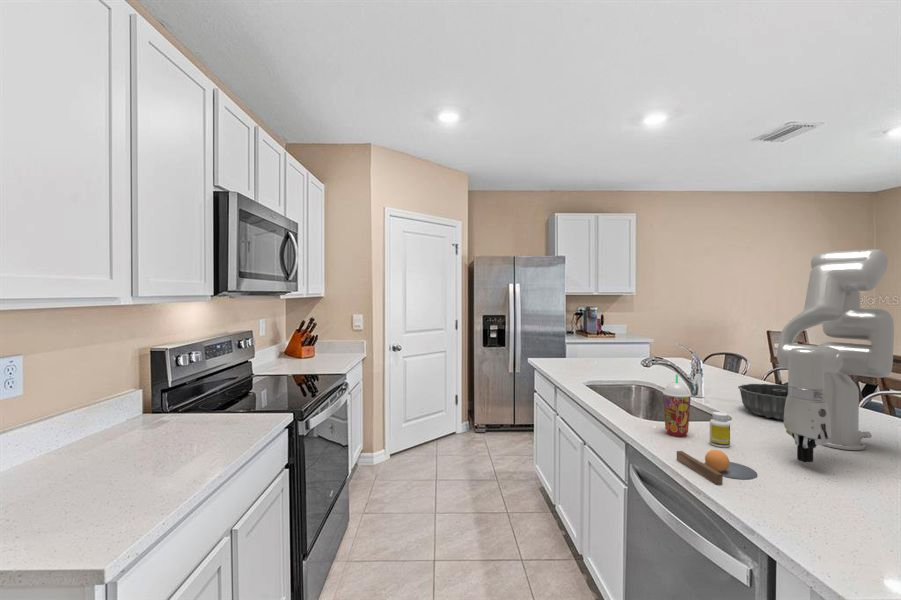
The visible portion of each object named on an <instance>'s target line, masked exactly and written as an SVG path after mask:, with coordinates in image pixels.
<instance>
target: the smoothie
mask: <svg viewBox="0 0 901 600" xmlns="http://www.w3.org/2000/svg"><path fill="white" fill-rule="evenodd" d="M691 396H692V394H691V393H690V391H689V388H687V387H686V386H685V385H684V384H682V383H681V382H679V374H675V382H672V383H669V384H668V385H667V386H666V387H665V389H664V390H663V391H662V398H663V399H662V400H663V413H664V414H663V415H664V425H665V426H664V429H665V431H666V433H667V434H668V435H670V436H673V437H677V436H678V437H682V438H683V437H686V436H687V433H688V432H689V425H690V424H689V423H690V412H691V411H690V410H691V398H692V397H691ZM678 437H677V438H678Z"/></svg>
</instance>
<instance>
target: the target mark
mask: <svg viewBox="0 0 901 600" xmlns="http://www.w3.org/2000/svg"><path fill="white" fill-rule="evenodd" d="M704 464H705V465H707V464H706V462H704ZM719 473H721V474H723V476H724V478H727V479H728V478H729V479H733V480H746V481H747V480H753V478H754V479H756V478H757V477H758V473H757V472H756V471H755V469H753V468H752V467H751V468H750V467H749V466H747V465H744V464H741V463H737V462H733V461H729V467H728V468H727V469H726V470H725V471H722V472H719Z"/></svg>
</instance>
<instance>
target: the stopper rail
mask: <svg viewBox="0 0 901 600" xmlns="http://www.w3.org/2000/svg"><path fill="white" fill-rule="evenodd" d="M676 461H678V462H679V463H681V464H682V465H684V466H686V467H687V468H689V469H691V470H693V471H694V472H695V473H697V474H699V475H700V476H702V477H704V478H705V479H706V480H709V482H712V483H714V484H715V485H717V486H718V485H719V486H720V485H723V474H721V473H719V472H717V471H716V470H714V469H712V468H711V467H709V466H707V465H705V464H704V463H705V462H704V463H703V462H702V461H700V460H698V459H696V458H695V457H693V456H691V455H690V454H688V453H687V452H685V451H683V450H677V451H676Z"/></svg>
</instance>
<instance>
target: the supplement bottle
mask: <svg viewBox="0 0 901 600" xmlns="http://www.w3.org/2000/svg"><path fill="white" fill-rule="evenodd" d="M728 418H729V417H728V413H726V412H720V411H713V412H712V418H711V419H710V420H709V444H710V445H712V446H714V447H716V448H717V447H719V448H729V447H730V446H731V423H730V421H729V420H728Z"/></svg>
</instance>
